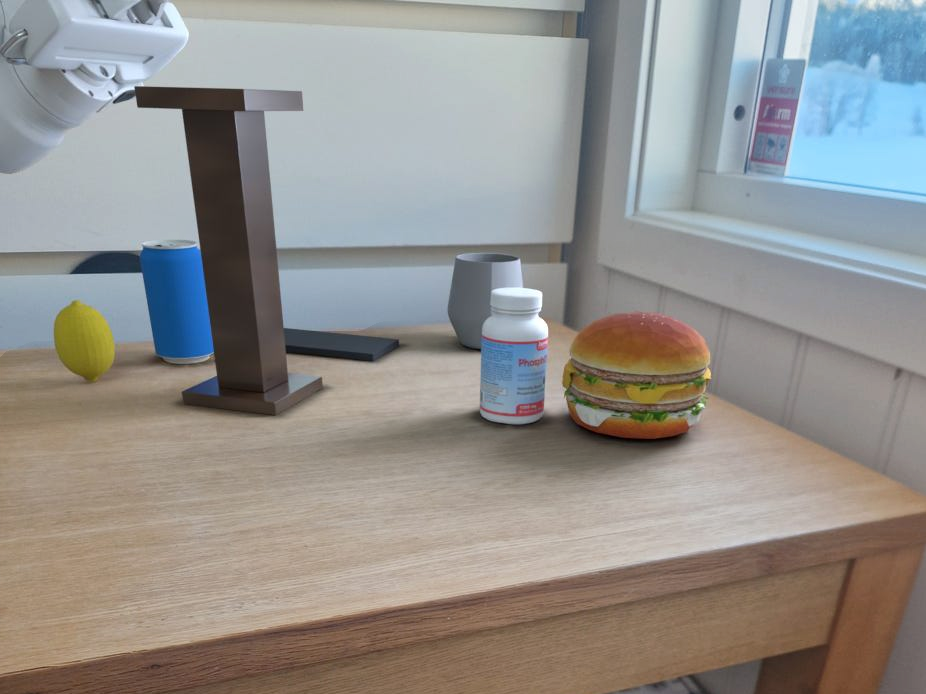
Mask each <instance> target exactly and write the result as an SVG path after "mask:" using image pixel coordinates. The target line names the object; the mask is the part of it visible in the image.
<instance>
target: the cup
mask: <svg viewBox="0 0 926 694" xmlns="http://www.w3.org/2000/svg"><path fill="white" fill-rule="evenodd" d="M450 283H451V284H450V290H449V297H448V301H447V309H446V311H447V316H448V318H449V321H450V323H451V326H452V329H453V330H454V332H455V335H456V337H457V339H458V341H459V343H460V344H461V345H463V346H465V347H466V348H470V349H476V350H481V344H482V327H483V324H484V322H485V321H486V320H487V319H488V318H489V317H491V316H493V310H492V309H491V305H490V301H491V291H492V290H494V289H499V288H524V282H523V273H522V265H521V258H520V257H519V256H517V255H513V254H507V253H500V252H499V253H498V252H470V253H463V254H458V255H456V256H455V259H454V265H453V271H452V278H451V282H450Z"/></svg>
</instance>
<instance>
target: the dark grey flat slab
mask: <svg viewBox="0 0 926 694" xmlns="http://www.w3.org/2000/svg"><path fill="white" fill-rule="evenodd" d="M284 337H285V349H286V353H292V354H293V353H294V354H303V355H305V354H306V355H314V356H322V357H331V358H340V359H341V358H342V359H352V360H360V361H370V362H374V361H376V360H377V359H379V358H381V357H382V356H384V355H386V354H388V353H389V352H391V351H393V350H394V349H396V348H397V347H399V346H400V339H399V338H391V337H382V336H381V337H380V336H371V335H361V334H352V333H350V334H349V333H340V332H331V331H320V330H319V331H318V330H309V329H300V328H289V327H284Z"/></svg>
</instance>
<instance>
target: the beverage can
mask: <svg viewBox="0 0 926 694" xmlns="http://www.w3.org/2000/svg"><path fill="white" fill-rule="evenodd" d="M141 246H142V250H141V252H140V254H139V263H140V267H141V273H142V279H143V286H144V291H145V299H146V303H147V310H148V316H149V321H150V322H149V323H150V327H151V333H152V339H153V345H154V353H155V355H156V356H157V357H159V358H162V360H163V362H166V363H169V364H175V365H187V364H188V365H191V364H198V363H202V362H206V361H208V360H209V359H210V357H211V355H214V349H213V342H212V334H211V327H210V319H209V311H208V304H207V296H206V289H205V281H204V274H203V266H202V258H201V251H200V248H198V242H196V240H195V241H194V240H190V239H189V240H188V239H155V240H154V239H153V240H147V241H143V242H142V243H141Z"/></svg>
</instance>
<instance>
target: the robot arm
mask: <svg viewBox="0 0 926 694" xmlns="http://www.w3.org/2000/svg"><path fill="white" fill-rule="evenodd" d="M189 37H190V33H189V30H188V27H187V26H186V24H185V22H184V20H183V18H182V16H181V14H180V13H179V10H178V9H177V8H176V5H174V3H173V2H170V0H0V174H5V175H14V174H13V173H15V174H18V173H20V171H21V172H23V171H25V170H27V169H29V168H31V167H33V166H34V165H36V164H37V163H38V162H40V161H42V160H43V159H44V158H46V157H47V156H48V155H49V154H50V153H51V152H53V151H54V150H55V149H56V148H57V147H59V145H61V143H62V142H63V141H64V139H65V137H66V134H67V133H68V131H70V130H72V129H75V128H77V127H80V126H81V125H83V124H84V123H86V122H87V121H88V120H90V118H91V117H92V116H93V115H95V114H96V113H100V112H103V110H105V109H106V108H108V107H110V106H112V105H117V104H120V103H122V102H126V101H129V100H134V99H136V95H135V88H134V86H145V85H144V83H143V82H146V81H148V80H150V79H151V78H153V77H154V76H155V75H157V74H158V73H159V72H160V71H161V70H163V69H164V68H165V67H166V66H167V65H168V64H169V63H170V62H171V61H172V60H173V59H174V58H175V57H176V56H177V55H178V54H179V53H180V52H181V51H182V50H183V49H184V48H185V46H186V44H187V42H188V40H189ZM17 172H18V173H17Z"/></svg>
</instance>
